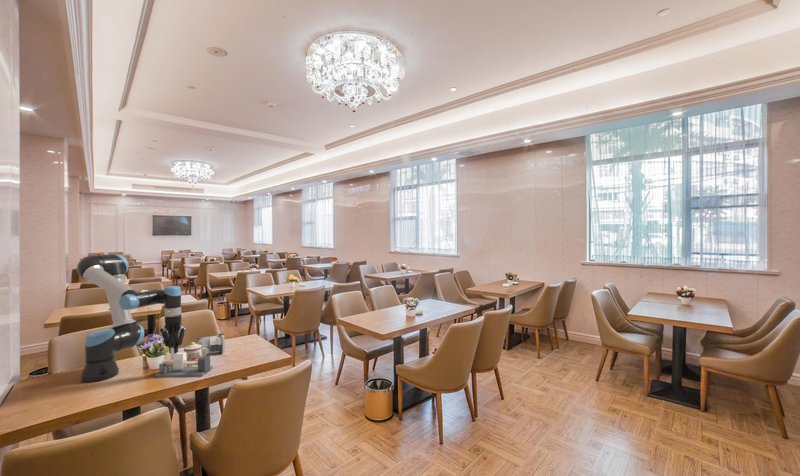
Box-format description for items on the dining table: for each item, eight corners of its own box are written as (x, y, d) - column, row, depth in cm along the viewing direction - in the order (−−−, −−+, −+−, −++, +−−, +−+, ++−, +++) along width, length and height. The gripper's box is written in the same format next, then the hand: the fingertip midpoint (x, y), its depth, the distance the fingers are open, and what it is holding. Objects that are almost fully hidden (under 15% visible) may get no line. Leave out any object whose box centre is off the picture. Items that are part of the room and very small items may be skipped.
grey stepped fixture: (155, 377, 183) (155, 361, 183) (168, 369, 194) (168, 354, 194) (202, 376, 184) (202, 361, 184) (212, 368, 195) (212, 354, 195)
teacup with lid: (185, 366, 198) (185, 346, 198) (182, 362, 204) (181, 342, 204) (209, 361, 206) (209, 341, 206) (205, 357, 213) (204, 338, 212)
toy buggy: (193, 361, 206) (193, 341, 206) (191, 357, 213) (191, 338, 213) (227, 354, 217) (227, 335, 217) (223, 350, 225) (223, 332, 225)
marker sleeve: (173, 368, 187) (172, 354, 187) (177, 365, 191) (177, 352, 191) (182, 368, 187) (182, 354, 187) (187, 365, 191) (186, 351, 191)
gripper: (156, 317, 185) (156, 361, 185) (181, 316, 185) (181, 361, 185) (165, 313, 192) (165, 356, 192) (189, 313, 193) (190, 356, 193)
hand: (173, 359), depth 189 cm, fingers closed
